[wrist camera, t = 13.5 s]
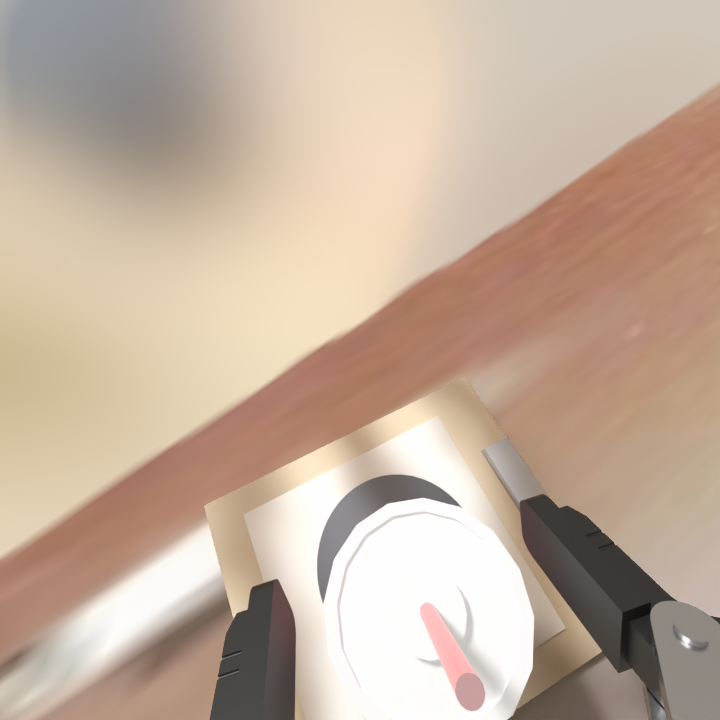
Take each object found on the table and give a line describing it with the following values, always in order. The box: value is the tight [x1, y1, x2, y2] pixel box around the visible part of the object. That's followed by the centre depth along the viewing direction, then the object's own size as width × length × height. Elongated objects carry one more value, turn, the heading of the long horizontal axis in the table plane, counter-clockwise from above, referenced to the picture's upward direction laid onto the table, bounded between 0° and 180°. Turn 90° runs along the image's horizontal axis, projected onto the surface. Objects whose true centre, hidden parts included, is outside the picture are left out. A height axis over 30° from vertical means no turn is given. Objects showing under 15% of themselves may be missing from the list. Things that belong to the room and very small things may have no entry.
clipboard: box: [204, 377, 602, 720], centre depth 18 cm, size 18×15×1 cm
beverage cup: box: [323, 498, 534, 720], centre depth 12 cm, size 6×6×14 cm
